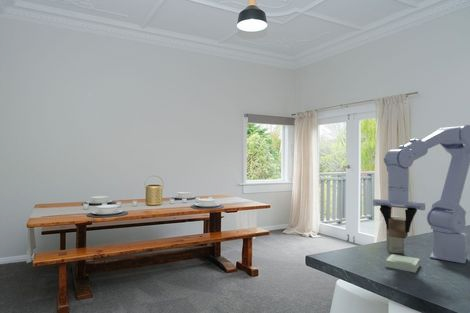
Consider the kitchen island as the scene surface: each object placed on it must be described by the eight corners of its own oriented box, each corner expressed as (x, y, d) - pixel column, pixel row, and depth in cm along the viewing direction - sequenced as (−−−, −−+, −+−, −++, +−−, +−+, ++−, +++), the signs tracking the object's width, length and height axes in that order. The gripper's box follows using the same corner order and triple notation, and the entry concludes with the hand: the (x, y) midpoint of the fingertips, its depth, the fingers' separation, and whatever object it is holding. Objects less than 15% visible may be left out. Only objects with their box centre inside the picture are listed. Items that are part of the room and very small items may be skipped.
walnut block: (407, 235, 102) (407, 218, 102) (404, 238, 98) (404, 220, 98) (391, 233, 104) (391, 216, 104) (388, 236, 101) (388, 218, 101)
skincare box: (404, 254, 111) (404, 218, 111) (390, 253, 112) (390, 218, 112) (398, 248, 117) (398, 215, 117) (385, 248, 118) (385, 214, 118)
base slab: (419, 265, 99) (419, 258, 99) (415, 272, 93) (415, 265, 93) (391, 260, 104) (391, 253, 104) (385, 266, 98) (385, 260, 98)
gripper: (370, 186, 103) (370, 229, 103) (422, 189, 94) (422, 236, 94) (376, 185, 108) (376, 226, 108) (426, 188, 99) (426, 232, 99)
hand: (398, 230), depth 101 cm, fingers closed on walnut block, 5 cm apart
